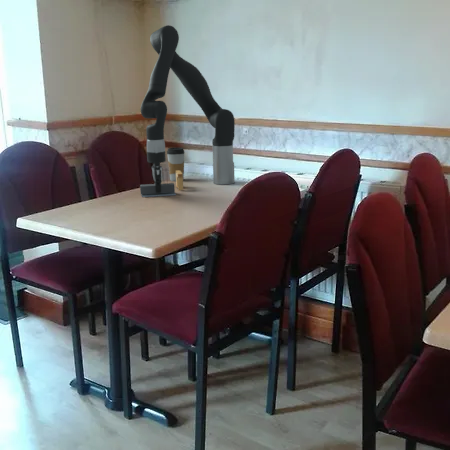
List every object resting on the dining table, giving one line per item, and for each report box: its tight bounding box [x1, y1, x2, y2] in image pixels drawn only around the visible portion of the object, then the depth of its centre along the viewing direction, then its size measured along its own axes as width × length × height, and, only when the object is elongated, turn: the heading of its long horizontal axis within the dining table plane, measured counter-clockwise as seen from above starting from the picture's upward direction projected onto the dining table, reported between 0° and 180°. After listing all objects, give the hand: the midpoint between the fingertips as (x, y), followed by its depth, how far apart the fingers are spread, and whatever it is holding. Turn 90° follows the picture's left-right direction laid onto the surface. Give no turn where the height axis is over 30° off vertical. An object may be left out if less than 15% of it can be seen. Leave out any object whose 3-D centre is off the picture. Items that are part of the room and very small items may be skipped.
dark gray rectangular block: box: [139, 182, 176, 195], centre depth 239 cm, size 14×4×3 cm, turn 100°
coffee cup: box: [166, 147, 185, 182], centre depth 270 cm, size 8×8×15 cm
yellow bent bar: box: [175, 170, 184, 191], centre depth 250 cm, size 2×10×7 cm, turn 10°
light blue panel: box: [140, 191, 177, 198], centre depth 239 cm, size 14×6×1 cm, turn 100°
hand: (158, 191), depth 239 cm, fingers closed on dark gray rectangular block, 3 cm apart
